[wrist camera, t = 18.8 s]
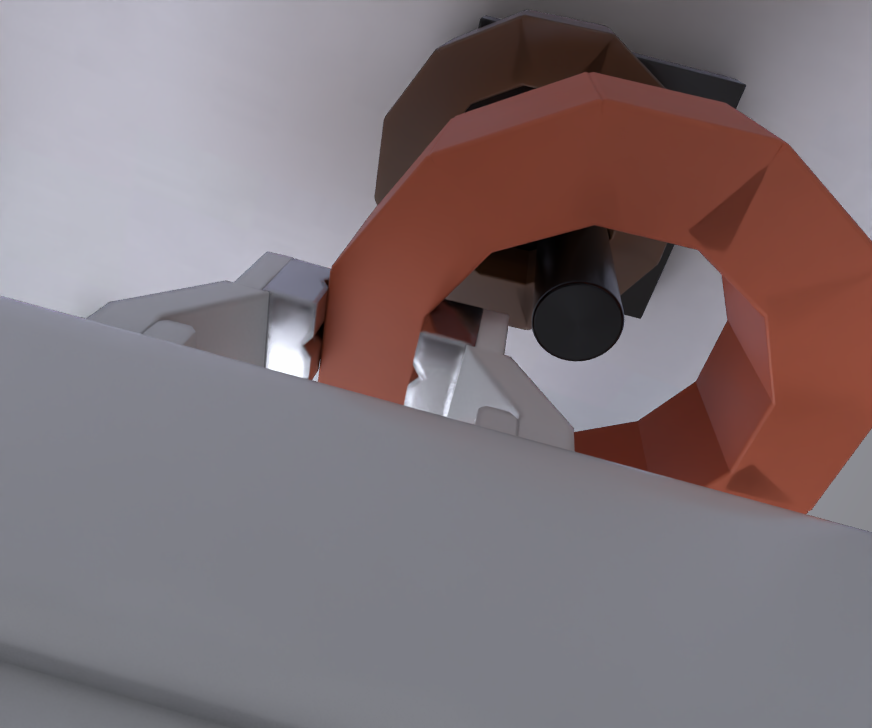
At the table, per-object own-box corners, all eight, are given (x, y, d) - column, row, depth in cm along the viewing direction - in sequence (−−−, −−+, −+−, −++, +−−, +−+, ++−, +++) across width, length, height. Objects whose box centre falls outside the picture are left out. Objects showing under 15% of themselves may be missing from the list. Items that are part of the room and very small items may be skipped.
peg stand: (485, 14, 22) (418, 51, 11) (735, 78, 22) (905, 175, 11) (433, 249, 27) (353, 425, 16) (637, 303, 26) (689, 516, 16)
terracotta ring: (398, 26, 11) (353, 40, 9) (923, 148, 11) (1043, 201, 9) (341, 431, 17) (302, 518, 14) (698, 520, 17) (728, 625, 14)
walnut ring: (420, -14, 20) (399, -12, 18) (716, 49, 20) (742, 60, 17) (382, 259, 26) (362, 292, 23) (616, 313, 25) (623, 353, 23)
